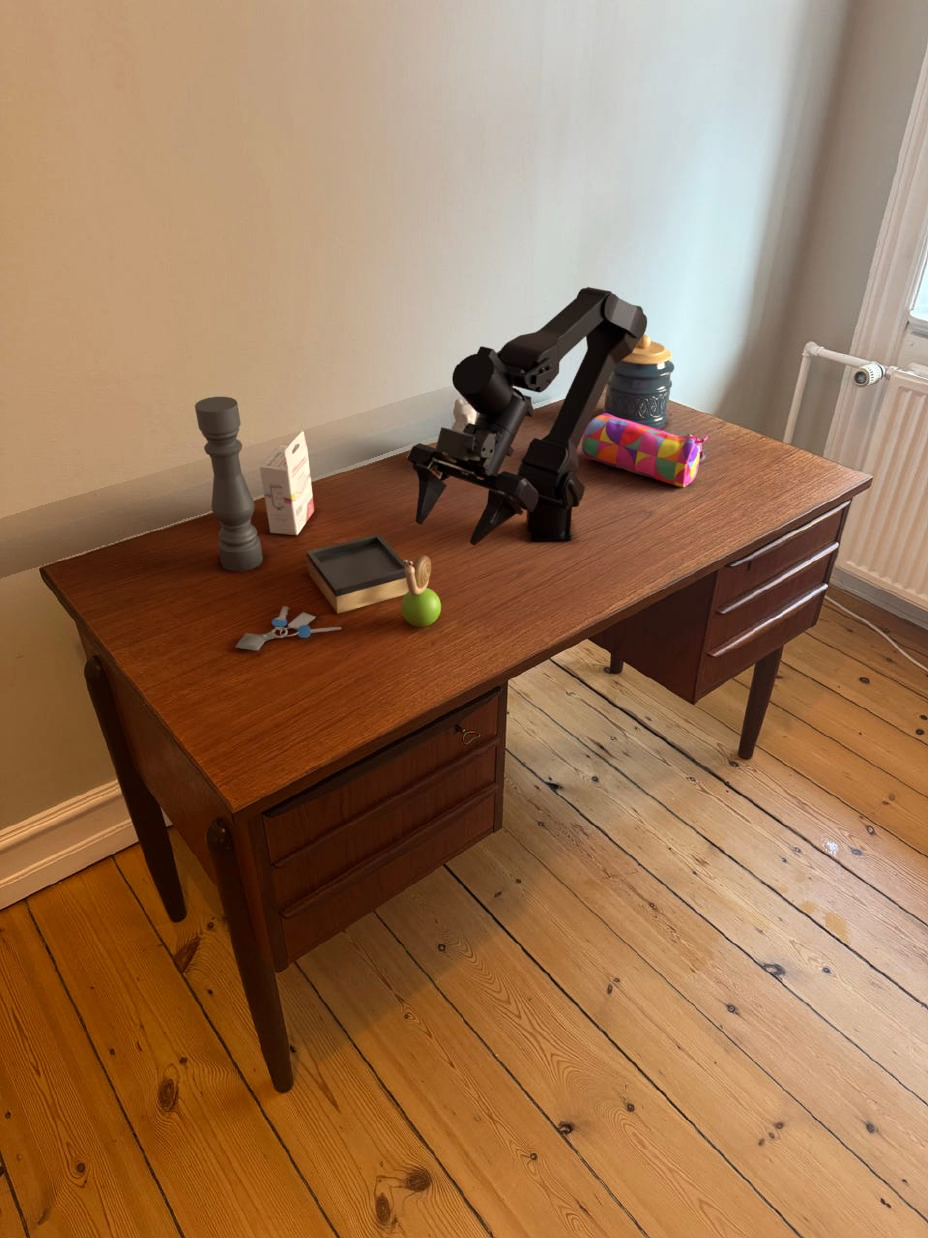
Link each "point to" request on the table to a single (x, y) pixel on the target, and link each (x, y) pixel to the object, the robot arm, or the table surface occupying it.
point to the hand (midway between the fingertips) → (444, 533)
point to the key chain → (298, 623)
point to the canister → (641, 385)
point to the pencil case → (643, 449)
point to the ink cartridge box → (288, 487)
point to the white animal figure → (463, 415)
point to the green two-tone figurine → (420, 594)
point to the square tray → (358, 572)
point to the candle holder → (229, 484)
